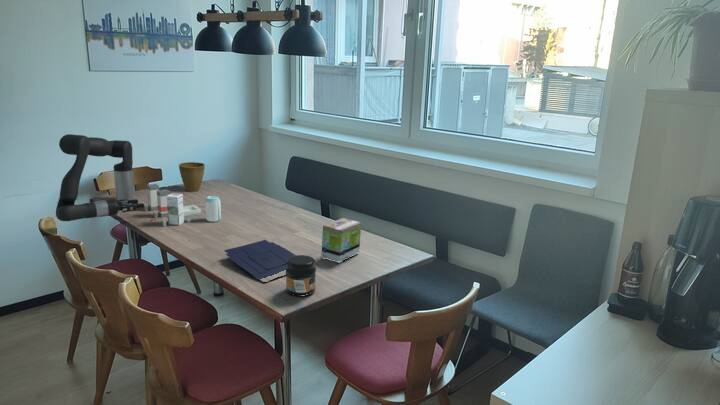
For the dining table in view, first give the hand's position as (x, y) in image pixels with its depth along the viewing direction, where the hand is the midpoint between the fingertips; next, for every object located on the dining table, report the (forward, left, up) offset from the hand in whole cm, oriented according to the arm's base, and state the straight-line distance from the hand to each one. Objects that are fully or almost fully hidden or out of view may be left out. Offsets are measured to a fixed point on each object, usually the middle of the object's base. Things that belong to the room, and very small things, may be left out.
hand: (140, 203), depth 250 cm
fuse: (-14, +11, -8) cm, 20 cm away
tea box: (+94, +50, -8) cm, 107 cm away
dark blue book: (+83, +20, -9) cm, 86 cm away
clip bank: (0, +10, -8) cm, 13 cm away
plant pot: (-41, +44, -8) cm, 61 cm away
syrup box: (+15, +11, -8) cm, 20 cm away
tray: (+2, +23, -8) cm, 24 cm away
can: (+20, +28, -8) cm, 36 cm away
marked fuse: (0, +11, -8) cm, 14 cm away
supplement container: (+112, +17, -8) cm, 114 cm away
